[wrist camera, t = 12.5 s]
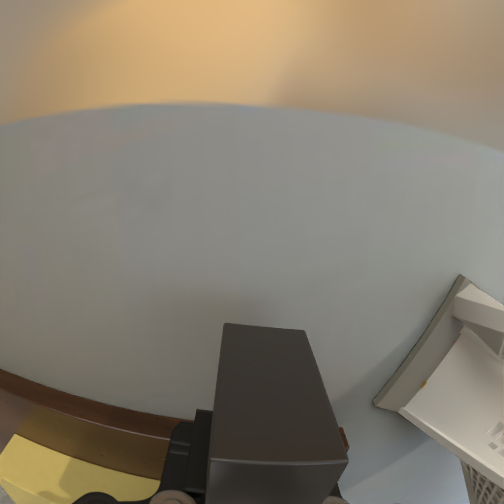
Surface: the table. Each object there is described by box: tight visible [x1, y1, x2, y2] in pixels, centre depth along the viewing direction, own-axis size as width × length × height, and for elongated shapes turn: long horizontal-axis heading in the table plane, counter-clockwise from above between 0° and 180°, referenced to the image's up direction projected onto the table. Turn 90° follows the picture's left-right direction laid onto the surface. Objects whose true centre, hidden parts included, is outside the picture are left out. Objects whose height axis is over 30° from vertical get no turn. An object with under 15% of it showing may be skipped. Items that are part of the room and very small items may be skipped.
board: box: [0, 369, 349, 481], centre depth 14 cm, size 12×22×2 cm, turn 83°
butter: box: [0, 434, 160, 504], centre depth 11 cm, size 4×10×4 cm, turn 83°
